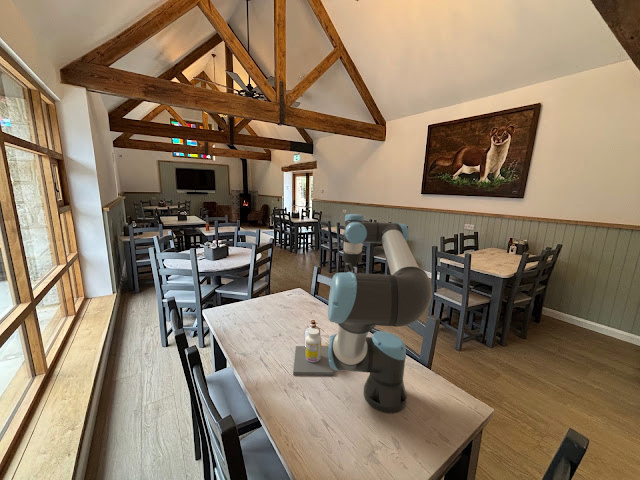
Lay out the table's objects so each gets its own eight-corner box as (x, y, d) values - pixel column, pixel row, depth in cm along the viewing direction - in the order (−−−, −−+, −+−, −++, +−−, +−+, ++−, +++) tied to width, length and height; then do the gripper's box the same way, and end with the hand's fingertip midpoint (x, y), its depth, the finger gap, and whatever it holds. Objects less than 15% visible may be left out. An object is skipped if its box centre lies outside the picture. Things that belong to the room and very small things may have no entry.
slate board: (332, 375, 107) (333, 372, 107) (293, 375, 107) (293, 371, 107) (329, 349, 125) (330, 346, 125) (295, 348, 125) (295, 345, 124)
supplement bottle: (313, 351, 120) (314, 325, 118) (324, 358, 115) (325, 331, 113) (302, 358, 115) (302, 330, 113) (312, 365, 111) (313, 337, 108)
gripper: (370, 259, 97) (366, 314, 101) (354, 246, 122) (352, 290, 125) (350, 259, 96) (347, 314, 100) (338, 246, 121) (336, 290, 124)
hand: (350, 301), depth 113 cm, fingers open, 13 cm apart
